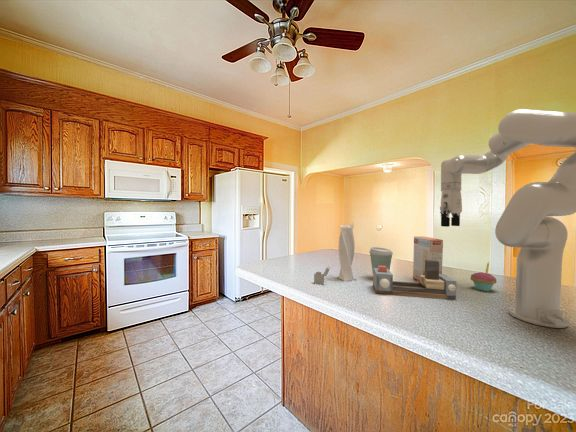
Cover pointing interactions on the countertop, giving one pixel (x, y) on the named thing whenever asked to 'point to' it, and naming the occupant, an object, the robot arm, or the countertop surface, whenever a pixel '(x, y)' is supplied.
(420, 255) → the cracker box
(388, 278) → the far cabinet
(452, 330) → the countertop surface
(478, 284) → the cupcake
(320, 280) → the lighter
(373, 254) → the disposable coffee cup
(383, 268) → the button
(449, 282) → the grey rectangular block
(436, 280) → the carriage
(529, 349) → the countertop surface
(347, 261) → the skyscraper
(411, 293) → the track
